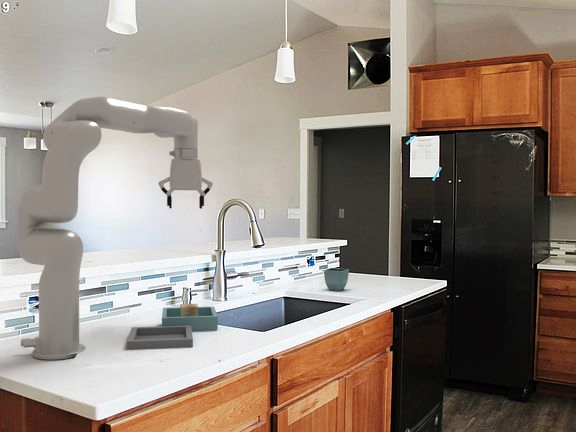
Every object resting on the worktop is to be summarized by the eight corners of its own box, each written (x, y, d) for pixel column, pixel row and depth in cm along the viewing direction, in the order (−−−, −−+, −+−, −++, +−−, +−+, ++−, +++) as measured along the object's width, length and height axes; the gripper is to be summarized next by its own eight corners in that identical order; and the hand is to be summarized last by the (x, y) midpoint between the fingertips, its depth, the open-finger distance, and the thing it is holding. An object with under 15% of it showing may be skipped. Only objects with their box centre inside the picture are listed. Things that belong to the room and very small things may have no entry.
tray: (161, 335, 168) (161, 318, 168) (162, 323, 183) (163, 307, 183) (217, 333, 171) (217, 316, 171) (214, 321, 186) (214, 306, 186)
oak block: (181, 327, 174) (181, 307, 174) (180, 323, 179) (180, 304, 179) (198, 326, 175) (198, 306, 175) (197, 323, 180) (197, 303, 180)
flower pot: (342, 292, 248) (342, 271, 248) (323, 290, 252) (323, 270, 252) (349, 289, 256) (349, 269, 256) (330, 287, 260) (330, 267, 260)
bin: (126, 353, 148) (126, 341, 148) (131, 337, 164) (131, 327, 164) (192, 350, 151) (192, 339, 151) (191, 335, 168) (191, 325, 167)
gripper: (157, 153, 182) (157, 208, 182) (213, 155, 185) (213, 208, 185) (158, 155, 189) (158, 208, 190) (212, 156, 192) (211, 208, 193)
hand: (185, 208), depth 188 cm, fingers open, 9 cm apart
